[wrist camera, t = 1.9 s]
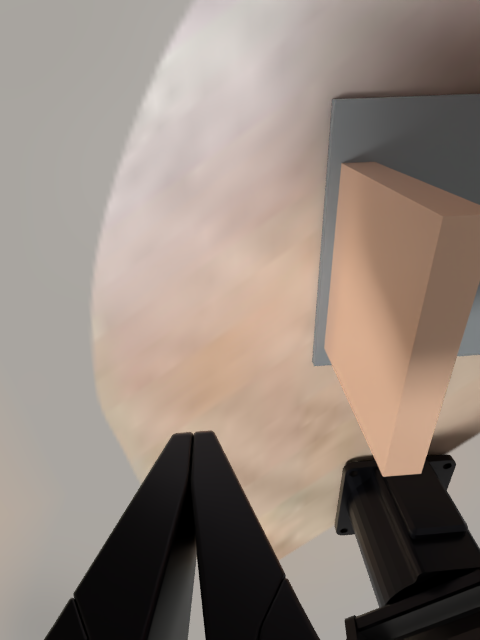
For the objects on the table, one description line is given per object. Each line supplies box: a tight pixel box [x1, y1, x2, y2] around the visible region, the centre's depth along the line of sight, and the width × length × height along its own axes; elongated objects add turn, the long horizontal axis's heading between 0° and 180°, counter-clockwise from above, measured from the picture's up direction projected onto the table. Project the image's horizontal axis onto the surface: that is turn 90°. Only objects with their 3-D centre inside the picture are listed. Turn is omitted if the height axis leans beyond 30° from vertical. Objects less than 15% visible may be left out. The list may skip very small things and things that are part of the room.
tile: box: [324, 162, 480, 477], centre depth 13 cm, size 8×1×7 cm, turn 2°
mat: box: [312, 94, 480, 366], centre depth 16 cm, size 11×10×1 cm
